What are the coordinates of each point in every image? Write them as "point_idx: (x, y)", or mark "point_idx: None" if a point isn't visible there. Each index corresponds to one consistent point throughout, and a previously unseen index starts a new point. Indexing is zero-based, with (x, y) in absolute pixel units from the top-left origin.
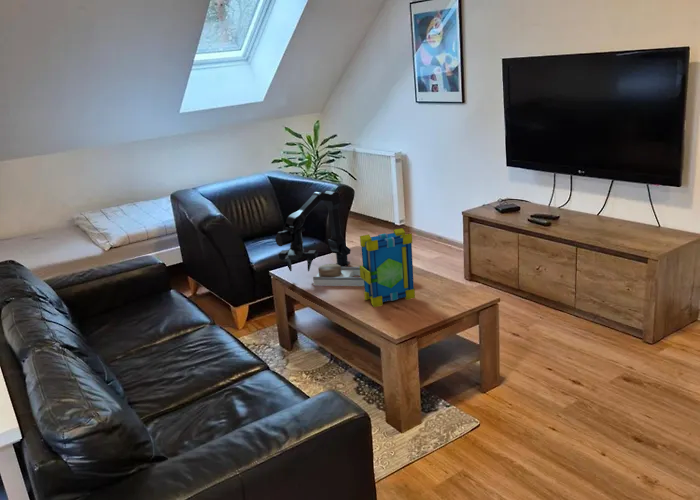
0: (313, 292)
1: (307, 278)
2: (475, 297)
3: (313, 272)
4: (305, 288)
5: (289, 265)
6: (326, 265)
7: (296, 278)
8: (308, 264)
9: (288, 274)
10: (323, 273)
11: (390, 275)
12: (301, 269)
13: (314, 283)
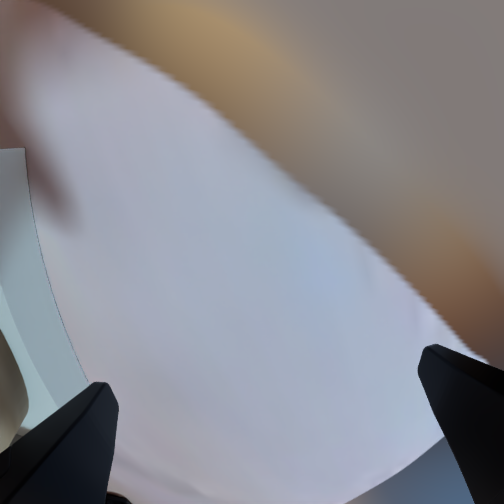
0: (6, 6)
1: (193, 352)
2: None
3: (210, 456)
4: (85, 43)
5: (502, 402)
6: None
7: (326, 336)
8: (9, 469)
9: (413, 392)
10: None
11: None
12: (328, 471)
13: (2, 152)
